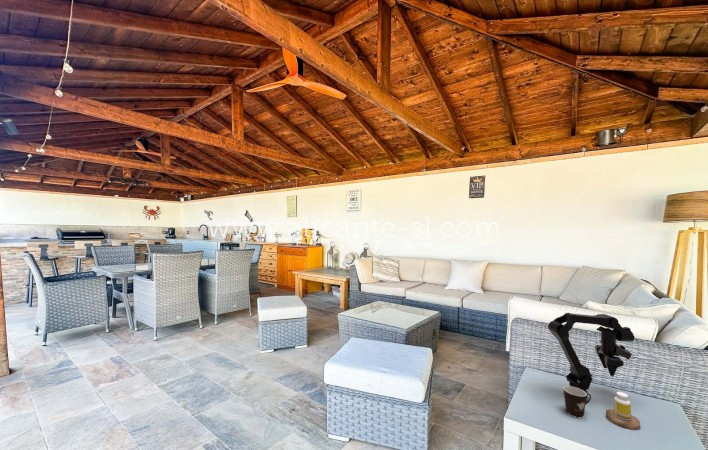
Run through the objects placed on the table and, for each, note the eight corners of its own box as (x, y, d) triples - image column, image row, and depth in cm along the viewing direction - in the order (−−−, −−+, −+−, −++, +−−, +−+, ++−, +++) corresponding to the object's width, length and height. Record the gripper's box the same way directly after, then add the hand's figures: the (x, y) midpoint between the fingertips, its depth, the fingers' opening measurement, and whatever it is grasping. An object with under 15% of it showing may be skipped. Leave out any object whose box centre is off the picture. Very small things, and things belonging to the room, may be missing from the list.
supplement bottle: (634, 421, 125) (633, 398, 125) (619, 419, 126) (619, 396, 127) (625, 413, 131) (625, 391, 131) (611, 412, 132) (611, 390, 132)
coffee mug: (566, 416, 131) (566, 394, 131) (560, 405, 139) (560, 384, 140) (598, 422, 127) (598, 399, 127) (590, 411, 135) (590, 389, 136)
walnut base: (611, 425, 126) (611, 420, 126) (602, 411, 136) (602, 406, 136) (645, 432, 121) (645, 428, 121) (633, 417, 131) (633, 413, 131)
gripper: (638, 350, 135) (638, 384, 134) (621, 337, 152) (621, 367, 151) (607, 346, 139) (607, 379, 139) (594, 333, 156) (594, 363, 156)
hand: (608, 372), depth 146 cm, fingers open, 9 cm apart
